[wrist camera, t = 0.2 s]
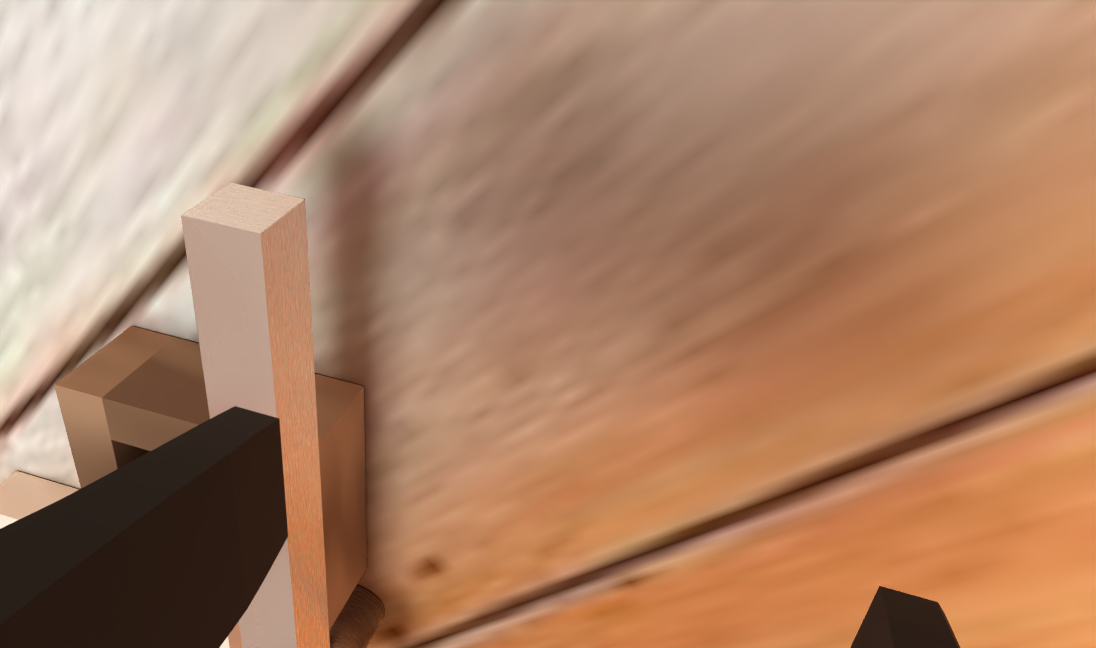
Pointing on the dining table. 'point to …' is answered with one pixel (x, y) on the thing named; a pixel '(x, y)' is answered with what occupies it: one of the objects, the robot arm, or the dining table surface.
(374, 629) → the pivot post
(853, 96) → the dining table surface
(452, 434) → the dining table surface
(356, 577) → the socket block
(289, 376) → the bar
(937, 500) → the dining table surface
